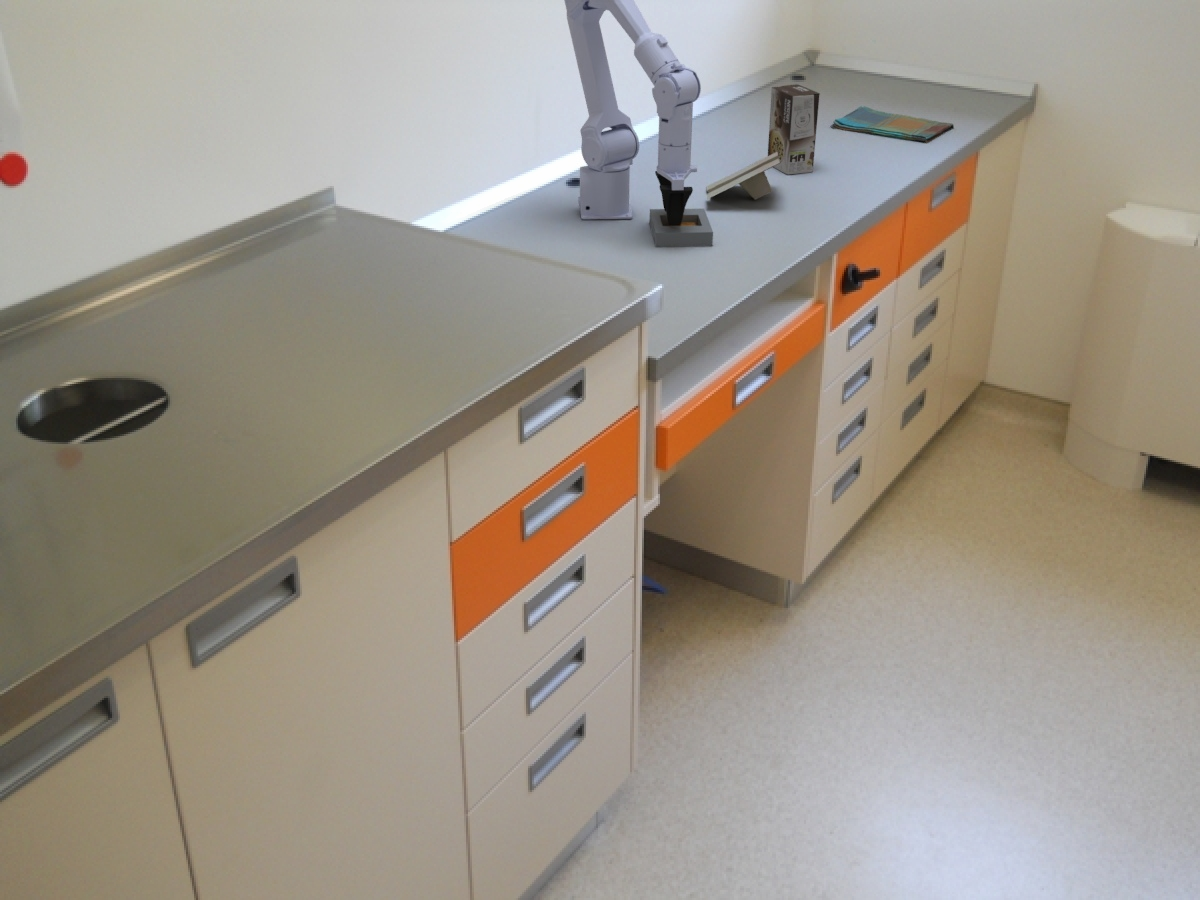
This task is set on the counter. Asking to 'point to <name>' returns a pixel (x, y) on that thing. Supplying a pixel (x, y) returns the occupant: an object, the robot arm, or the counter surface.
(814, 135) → the coffee box
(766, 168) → the beige footed plank
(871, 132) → the dish towel
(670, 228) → the well block
